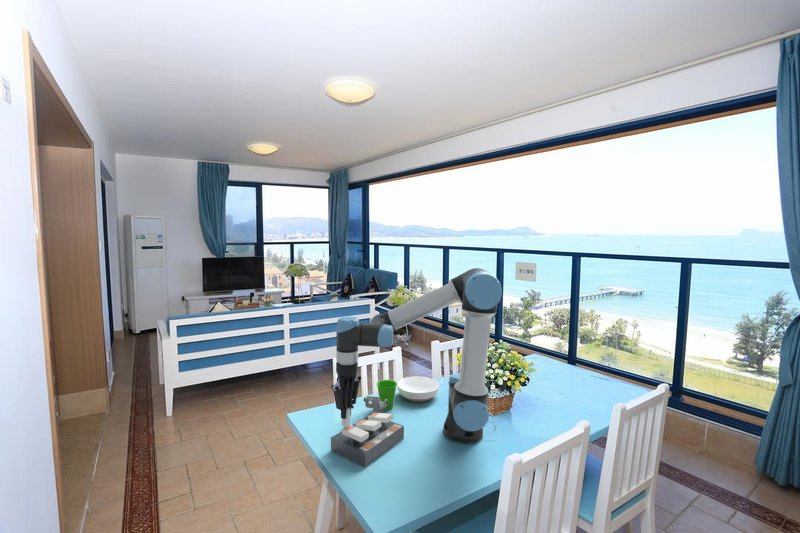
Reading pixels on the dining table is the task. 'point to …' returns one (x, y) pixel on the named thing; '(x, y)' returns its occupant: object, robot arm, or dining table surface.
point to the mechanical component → (375, 403)
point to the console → (368, 443)
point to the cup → (387, 392)
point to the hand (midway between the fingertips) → (345, 425)
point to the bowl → (418, 388)
